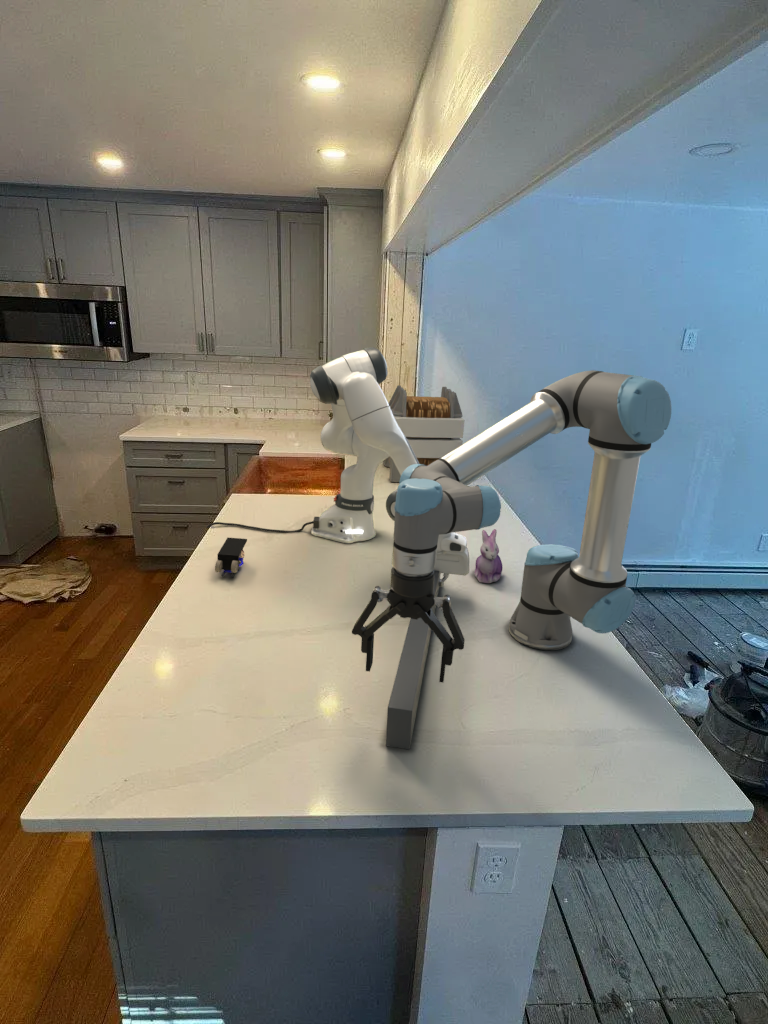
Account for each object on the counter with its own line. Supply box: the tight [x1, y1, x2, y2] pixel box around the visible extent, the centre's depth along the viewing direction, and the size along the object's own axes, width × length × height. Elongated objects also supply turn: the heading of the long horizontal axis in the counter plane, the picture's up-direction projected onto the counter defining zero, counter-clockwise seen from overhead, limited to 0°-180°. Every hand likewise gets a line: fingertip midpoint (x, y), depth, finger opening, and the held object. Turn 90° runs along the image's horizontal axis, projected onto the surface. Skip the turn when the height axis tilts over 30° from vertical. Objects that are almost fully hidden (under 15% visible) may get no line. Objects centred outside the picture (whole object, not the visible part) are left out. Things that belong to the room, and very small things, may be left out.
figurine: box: [474, 528, 503, 584], centre depth 167 cm, size 9×10×15 cm
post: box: [385, 570, 442, 750], centre depth 132 cm, size 67×4×8 cm, turn 170°
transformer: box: [382, 384, 465, 483], centre depth 268 cm, size 34×33×41 cm
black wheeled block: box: [214, 537, 248, 578], centre depth 166 cm, size 7×8×15 cm
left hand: (430, 584), depth 157 cm, fingers closed on post, 4 cm apart
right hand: (405, 672), depth 105 cm, fingers open, 13 cm apart
